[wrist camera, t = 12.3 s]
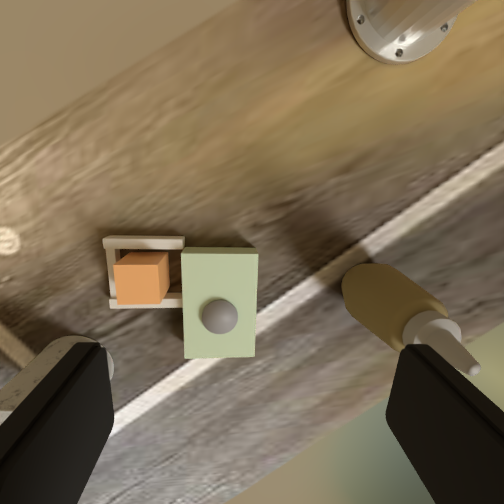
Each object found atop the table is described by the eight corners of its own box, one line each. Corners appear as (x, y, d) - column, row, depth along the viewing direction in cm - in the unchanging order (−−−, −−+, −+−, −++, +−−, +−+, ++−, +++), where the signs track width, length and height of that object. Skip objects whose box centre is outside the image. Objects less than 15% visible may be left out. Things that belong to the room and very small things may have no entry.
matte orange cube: (130, 251, 34) (113, 264, 29) (168, 251, 34) (157, 264, 29) (133, 286, 35) (117, 304, 30) (170, 285, 36) (160, 304, 30)
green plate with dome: (109, 235, 33) (95, 241, 30) (255, 236, 35) (259, 243, 31) (121, 346, 37) (109, 364, 33) (252, 342, 39) (254, 359, 35)
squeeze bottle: (324, 301, 38) (405, 402, 21) (346, 248, 36) (454, 309, 19) (374, 315, 40) (490, 420, 22) (397, 264, 38) (543, 335, 20)
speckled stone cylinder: (110, 334, 37) (54, 407, 25) (117, 393, 39) (69, 486, 27) (34, 336, 36) (-62, 413, 24) (46, 396, 38) (-35, 494, 26)
